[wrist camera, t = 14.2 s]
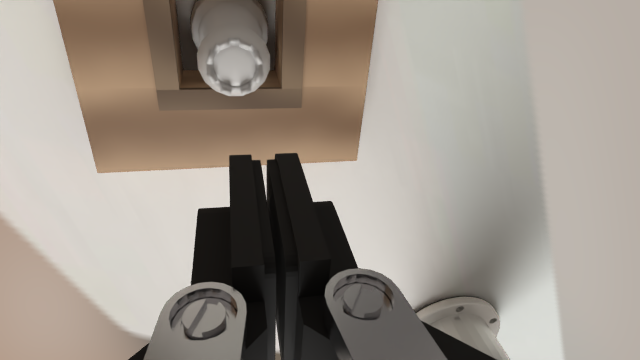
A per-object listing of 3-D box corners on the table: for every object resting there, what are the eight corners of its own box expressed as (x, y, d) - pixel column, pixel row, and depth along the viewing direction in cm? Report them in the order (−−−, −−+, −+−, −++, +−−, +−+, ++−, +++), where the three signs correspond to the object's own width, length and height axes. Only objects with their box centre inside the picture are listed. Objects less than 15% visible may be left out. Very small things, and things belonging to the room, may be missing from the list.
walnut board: (345, 140, 30) (357, 162, 28) (108, 148, 27) (96, 175, 24) (375, -132, 22) (398, -138, 19) (34, -170, 18) (3, -182, 16)
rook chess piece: (215, -34, 23) (216, -10, 16) (282, 16, 25) (306, 55, 18) (175, 35, 24) (161, 83, 18) (241, 76, 26) (250, 133, 20)
